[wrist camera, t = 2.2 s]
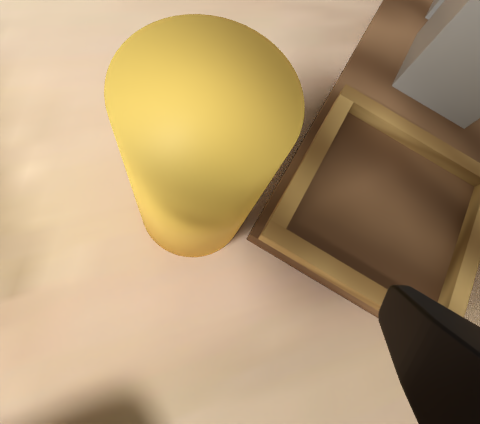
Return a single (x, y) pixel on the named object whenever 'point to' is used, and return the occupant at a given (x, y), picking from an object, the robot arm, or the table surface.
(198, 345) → the table surface
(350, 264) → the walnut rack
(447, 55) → the slate grey standing blocks
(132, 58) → the mustard peg
